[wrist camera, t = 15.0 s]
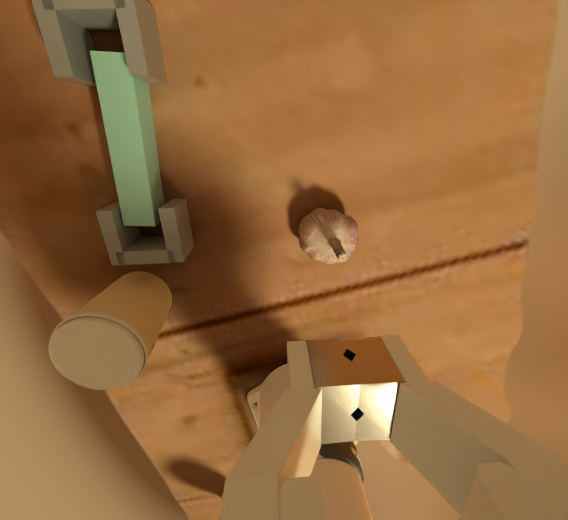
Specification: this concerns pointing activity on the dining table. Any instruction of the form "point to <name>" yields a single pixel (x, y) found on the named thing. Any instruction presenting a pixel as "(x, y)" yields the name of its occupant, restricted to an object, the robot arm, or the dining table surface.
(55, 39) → the cap
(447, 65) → the dining table surface
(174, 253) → the cap
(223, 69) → the dining table surface
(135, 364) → the coffee cup
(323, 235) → the garlic bulb
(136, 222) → the slat
